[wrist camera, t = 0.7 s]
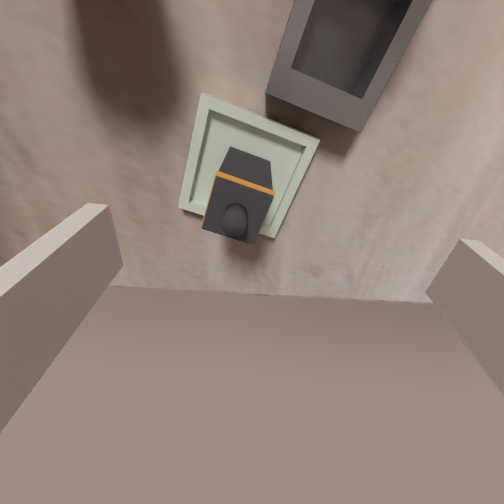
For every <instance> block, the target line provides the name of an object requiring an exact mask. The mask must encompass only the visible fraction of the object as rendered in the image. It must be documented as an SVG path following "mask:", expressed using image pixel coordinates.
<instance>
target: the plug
mask: <svg viewBox="0 0 504 504" xmlns="http://www.w3.org/2000/svg"><path fill="white" fill-rule="evenodd" d="M274 196H275V191H273V186H272V174H271V163H270V161H269V160H266V159H263V158H261V157H258V156H255V155H252V154H250V153H247V152H244V151H242V150H239V149H236V148H234V147H231V146H230V147H229V149H228V152H227V154H226V156H225V158H224V160H223V162H222V165H221V167H220V169H219V171H217V172H216V174H215V177H214V181H213V185H212V188H211V192H210V196H209V199H208V203H207V207H206V211H205V214H204V218H203V222H202V225H201V227H202V229H204V230H207V231H211V232H214V233H217V234H220V235H223V236H227V237H230V238H233V239H236V240H239V241H243V242H246V243H249V244H252V245H254V243H255V241H256V239H257V236H258V234H259V232H260V229H261V227H262V225H263V222H264V220H265V217H266V215H267V213H268V210H269V208H270V206H271V203H272V201H273V199H274Z"/></svg>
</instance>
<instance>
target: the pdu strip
mask: <svg viewBox="0 0 504 504" xmlns="http://www.w3.org/2000/svg"><path fill="white" fill-rule="evenodd" d="M431 1H432V0H295V1H294V4H293V7H292V10H291V13H290V16H289V19H288V23H287V26H286V29H285V32H284V35H283V38H282V41H281V44H280V47H279V51H278V54H277V57H276V60H275V63H274V66H273V69H272V72H271V75H270V79H269V82H268V85H267V88H266V94H269V95H271V96H274V97H276V98H279V99H281V100H283V101H286V102H288V103H291V104H293V105H295V106H298V107H300V108H303V109H305V110H307V111H310V112H312V113H315V114H317V115H320V116H322V117H324V118H327V119H329V120H332V121H334V122H336V123H339V124H341V125H344V126H346V127H348V128H351V129H353V130H356V131H358V132H361V130H362V128H363V126H364V125H365V123H366V121H367V119H368V117H369V115H370V114H371V112H372V110H373V108H374V106H375V104H376V103H377V101H378V99H379V97H380V95H381V93H382V91H383V90H384V88H385V86H386V84H387V82H388V80H389V79H390V77H391V75H392V73H393V71H394V69H395V68H396V66H397V64H398V62H399V60H400V58H401V56H402V55H403V53H404V51H405V49H406V47H407V45H408V44H409V42H410V40H411V38H412V36H413V34H414V33H415V31H416V29H417V27H418V25H419V23H420V22H421V20H422V18H423V16H424V14H425V12H426V10H427V9H428V7H429V5H430V3H431Z"/></svg>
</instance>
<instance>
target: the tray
mask: <svg viewBox="0 0 504 504" xmlns="http://www.w3.org/2000/svg"><path fill="white" fill-rule="evenodd" d="M319 142H320V139H319V138H318V137H316V136H313V135H311V134H308V133H306V132H303V131H301V130H298V129H296V128H293V127H291V126H288V125H286V124H283V123H281V122H278V121H275V120H273V119H270V118H268V117H265V116H263V115H260V114H258V113H255V112H253V111H250V110H248V109H245V108H243V107H240V106H238V105H235V104H233V103H230V102H228V101H225V100H223V99H220V98H218V97H215V96H213V95H210V94H208V93H205V92H202V93H201V95H200V100H199V105H198V110H197V115H196V120H195V125H194V130H193V135H192V140H191V145H190V150H189V155H188V160H187V165H186V170H185V175H184V180H183V185H182V190H181V195H180V200H179V205H178V208H181V209H184V210H187V211H191V212H194V213H197V214H200V215H203V216H204V214H205V211H206V207H207V203H208V199H209V196H210V192H211V188H212V185H213V181H214V177H215V174H216V172H217V171H219V169H220V167H221V165H222V162H223V160H224V158H225V156H226V154H227V152H228V149H229V147H230V146H231V147H234V148H236V149H239V150H242V151H244V152H247V153H250V154H252V155H255V156H258V157H261V158H263V159H266V160H269V161H270V163H271V174H272V186H273V191H275V196H274V199H273V201H272V203H271V206H270V208H269V210H268V213H267V215H266V217H265V220H264V222H263V225H262V227H261V229H260V232H259V234H262V235H265V236H268V237H272V238H275V236H276V234H277V232H278V229H279V227H280V225H281V223H282V221H283V219H284V217H285V214H286V212H287V210H288V208H289V206H290V204H291V202H292V200H293V197H294V195H295V193H296V191H297V189H298V187H299V185H300V182H301V180H302V178H303V176H304V174H305V172H306V170H307V168H308V165H309V163H310V161H311V159H312V157H313V155H314V153H315V150H316V148H317V146H318V144H319Z"/></svg>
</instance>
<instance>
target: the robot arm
mask: <svg viewBox="0 0 504 504" xmlns="http://www.w3.org/2000/svg"><path fill="white" fill-rule="evenodd" d="M122 266H123V261H122V257H121V253H120V249H119V245H118V240H117V236H116V232H115V228H114V224H113V220H112V216H111V211H110V207H109V205H103V204H93V203H87V204H86V205H84V206H83V207H82V208H80V209H79V210H77V211H76V212H75V213H73V214H72V215H71V216H69V217H68V218H67V219H65V220H64V221H62V222H61V223H60V224H58V225H57V226H56V227H54V228H53V229H52V230H50V231H49V232H47V233H46V234H45V235H43V236H42V237H41V238H39V239H38V240H36V241H35V242H34V243H32V244H31V245H30V246H28V247H27V248H26V249H24V250H23V251H21V252H20V253H19V254H17V255H16V256H15V257H13V258H12V259H11V260H9V261H8V262H6V263H5V264H4V265H2V266H1V267H0V433H1V431H2V430H3V428H4V427H5V426H6V424H7V423H8V422H9V420H10V419H11V417H12V416H13V415H14V413H15V412H16V410H17V409H18V408H19V407H20V405H21V404H22V402H23V401H24V400H25V398H26V397H27V396H28V394H29V393H30V392H31V390H32V389H33V387H34V386H35V385H36V383H37V382H38V381H39V379H40V378H41V377H42V375H43V374H44V372H45V371H46V369H47V368H48V367H49V365H50V364H51V363H52V362H53V360H54V359H55V357H56V356H57V355H58V353H59V352H60V351H61V349H62V348H63V347H64V345H65V343H66V342H67V341H68V340H69V338H70V337H71V335H72V334H73V333H74V331H75V330H76V329H77V327H78V326H79V325H80V323H81V322H82V321H83V319H84V318H85V316H86V315H87V314H88V312H89V311H90V310H91V308H92V307H93V306H94V304H95V303H96V302H97V300H98V299H99V297H100V296H101V295H102V293H103V292H104V291H105V289H106V288H107V287H108V285H109V284H110V282H111V281H112V280H113V278H114V277H115V276H116V274H117V273H118V272H119V270H120V269H121V267H122ZM426 294H427V295H428V296H429V298H430V299H431V300H432V302H433V303H434V304H435V306H436V307H437V308H438V310H439V311H440V312H441V314H442V315H443V316H444V318H445V319H446V320H447V322H448V323H449V324H450V326H451V327H452V328H453V330H454V331H455V332H456V334H457V335H458V336H459V338H460V339H461V340H462V342H463V343H464V344H465V346H466V347H467V348H468V350H469V351H470V352H471V354H472V355H473V356H474V358H475V359H476V360H477V362H478V363H479V364H480V366H481V367H482V368H483V370H484V371H485V372H486V373H487V375H488V376H489V378H490V379H491V380H492V381H493V383H494V384H495V386H496V387H497V388H498V390H499V391H500V392H501V393H502V395H503V396H504V259H503V258H501V257H500V256H499V255H497V254H496V253H495V252H494V251H492V250H491V249H490V248H488V247H487V246H486V245H484V244H483V243H482V242H480V241H476V240H466V239H459V241H458V242H457V244H456V246H455V247H454V249H453V250H452V252H451V253H450V255H449V256H448V258H447V260H446V261H445V263H444V264H443V266H442V267H441V269H440V270H439V272H438V274H437V275H436V277H435V278H434V280H433V281H432V283H431V284H430V286H429V288H428V289H427V291H426Z"/></svg>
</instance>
